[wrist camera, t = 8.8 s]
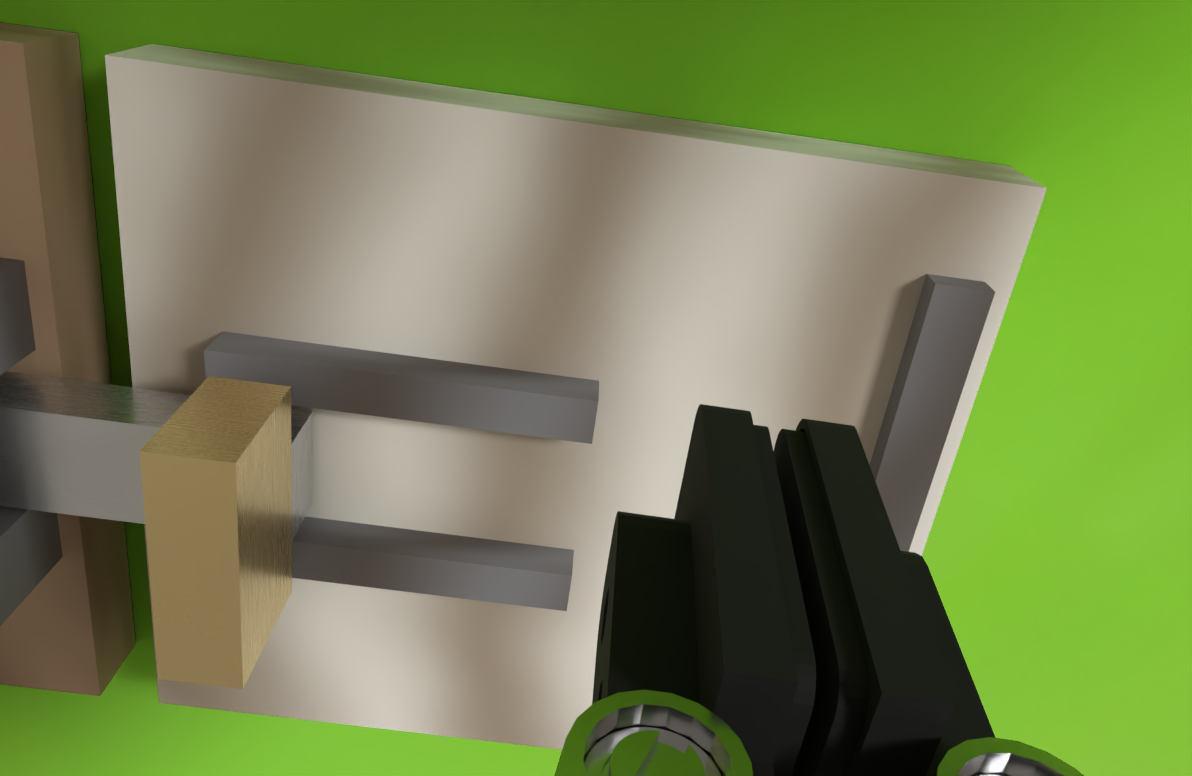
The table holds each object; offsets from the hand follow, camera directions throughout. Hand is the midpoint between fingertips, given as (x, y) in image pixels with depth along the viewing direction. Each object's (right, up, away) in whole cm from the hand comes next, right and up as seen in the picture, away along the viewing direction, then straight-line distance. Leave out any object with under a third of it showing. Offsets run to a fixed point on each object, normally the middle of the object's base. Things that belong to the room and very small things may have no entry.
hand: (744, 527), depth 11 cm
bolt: (-13, +1, +10) cm, 16 cm away
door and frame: (-8, +1, +13) cm, 15 cm away
